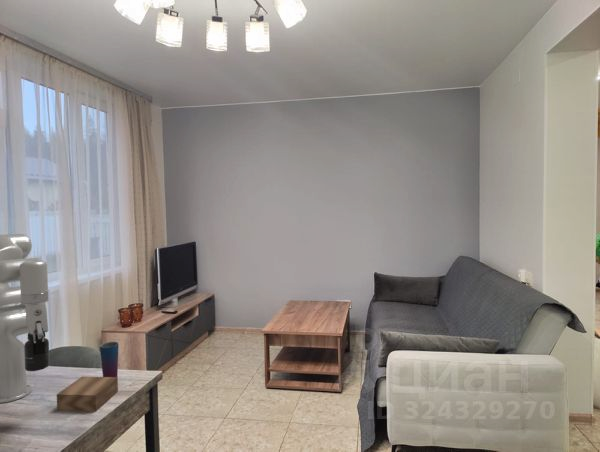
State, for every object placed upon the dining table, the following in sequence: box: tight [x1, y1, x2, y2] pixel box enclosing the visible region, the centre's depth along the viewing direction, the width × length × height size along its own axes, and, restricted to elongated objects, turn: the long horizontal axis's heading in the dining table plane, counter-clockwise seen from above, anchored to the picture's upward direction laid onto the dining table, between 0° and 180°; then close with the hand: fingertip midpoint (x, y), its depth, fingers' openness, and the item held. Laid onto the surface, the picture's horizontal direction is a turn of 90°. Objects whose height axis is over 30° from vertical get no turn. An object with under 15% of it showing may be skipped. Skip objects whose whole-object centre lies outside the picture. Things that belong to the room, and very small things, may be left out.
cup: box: [99, 341, 119, 377], centre depth 155 cm, size 7×7×15 cm
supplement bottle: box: [24, 330, 50, 372], centre depth 128 cm, size 7×7×12 cm
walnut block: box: [56, 376, 119, 412], centre depth 139 cm, size 14×14×6 cm
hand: (36, 350), depth 128 cm, fingers closed on supplement bottle, 6 cm apart
